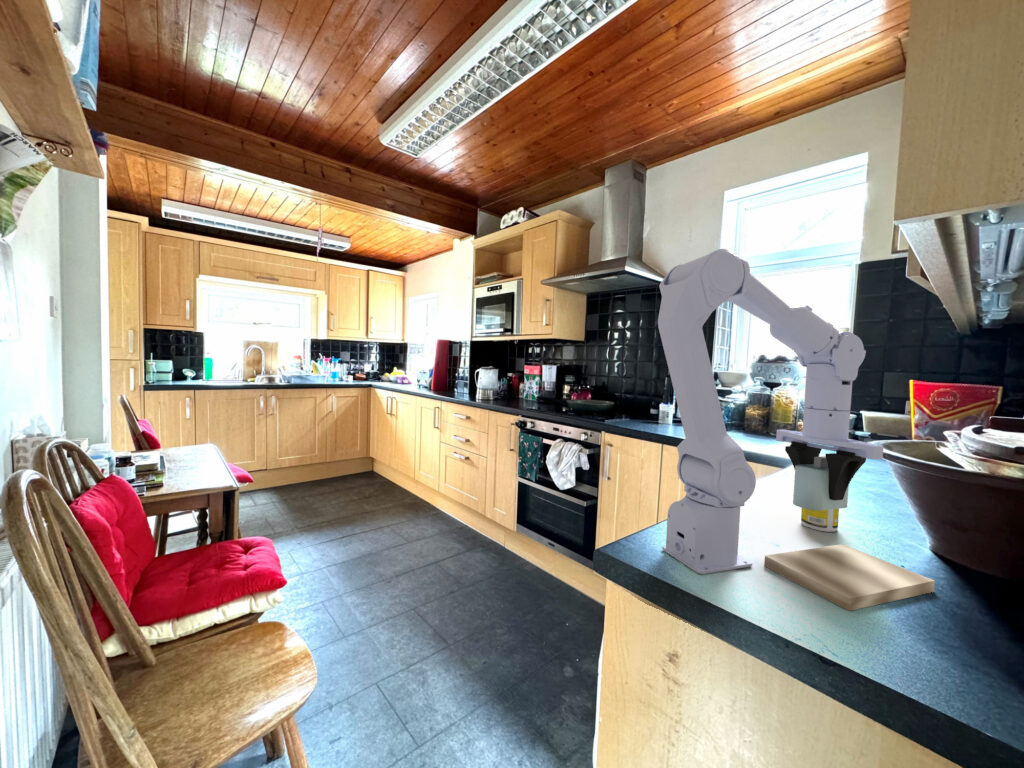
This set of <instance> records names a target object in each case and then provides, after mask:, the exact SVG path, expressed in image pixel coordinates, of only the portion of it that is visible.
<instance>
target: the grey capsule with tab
mask: <svg viewBox="0 0 1024 768" xmlns="http://www.w3.org/2000/svg"><path fill="white" fill-rule="evenodd" d="M793 481H794V483H793V499H792V504H793V506H796V507H798V508H800V509H802V508H805V509H809V510H818V511H821V510H831V509H839V510H840V509H846V508H847V507H848V499H849V498H848V497H849V487H850V484H849V485H848V488H847V490H846V492H845V495H844V498H843V500H831V499H829V469H828V464H827V460H826V455H825V456H823V455H822V456H819V457H814V464H806V465H796V466H795V469H794V480H793Z"/></svg>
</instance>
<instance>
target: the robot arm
mask: <svg viewBox="0 0 1024 768" xmlns="http://www.w3.org/2000/svg"><path fill="white" fill-rule="evenodd" d="M708 253H709V252H708ZM658 287H659V291H660V294H661V301H660V308H659V313H658V318H657V326H658V330H659V334H660V336H659V337H660V340H661V343H662V347H663V351H664V356H665V360H666V364H667V367H668V372H669V375H670V379H671V384H672V387H673V392H674V396H675V397H674V398H675V400H676V404H677V407H678V408H677V409H678V413H679V416H680V420H681V424H682V429H683V432H684V433H683V434H684V436H685V438H684V439H683V440H682V441H681V442H680V443H679V444H678V445H677V447H676V448H677V452H678V461H677V467H676V468H677V469H676V471H677V476H678V479H679V480H680V481H681V482H682V483H683V484H684V488H683V491H684V492H686V493H685V496H684V497H683V498H682V499H679V500H677V501H673V502H672V503H671V504H670V506H669V508H668V510H667V516H666V517H667V519H666V521H667V522H666V536H665V537H666V539H665V545H662V546H661V548H662V550H663V551H664V552H666V553H667V554H669V555H670V556H672V557H673V558H675V559H676V560H678V561H679V562H681V563H682V564H684V565H686V566H687V567H688V568H690V569H691V570H692V571H695V573H697V574H699V575H705V574H711V573H717V572H724V571H730V570H738V569H743V568H749V567H750V568H751V567H752V566H753V562H752V561H750V560H748V559H746V558H744V557H743V556H741V555H739V539H740V537H739V535H740V522H741V521H740V520H741V507H745V503H746V502H747V501H748V500H749V499H751V497H752V495H753V493H754V492H755V490H756V489H755V488H756V482H757V480H756V479H757V478H756V473H755V471H754V469H753V467H752V466H751V465H750V464H749V463H748V461H747V459H746V457H745V453H744V449H743V448H742V447H741V446H740V445H739V444H738V443H737V442H736V441H735V440H734V439H733V438H732V437H731V436H730V435H729V434H728V432H727V428H726V424H725V419H724V415H723V411H722V406H721V403H720V398H719V394H718V390H717V386H716V382H715V378H714V373H713V368H712V365H711V359H710V356H709V351H708V347H707V343H706V339H705V334H704V329H703V326H704V324H705V323H706V322H707V320H708V319H709V318H710V316H711V314H712V313H713V312H714V311H716V309H718V308H719V307H721V305H723V304H724V303H726V302H727V303H732V304H733V305H735V306H737V307H739V308H741V309H743V311H746V312H748V313H750V314H751V315H753V316H755V317H756V318H757V319H759V320H761V321H763V322H764V323H766V324H768V325H769V332H770V335H771V336H772V337H773V338H775V339H776V341H777V340H778V341H779V342H781V343H782V344H783V345H785V346H786V347H788V348H789V349H791V350H792V351H793V352H794V353H795V354H796V355H797V359H798V362H799V363H800V365H801V366H802V367H804V368H806V371H805V372H806V373H805V389H804V402H803V403H804V404H803V414H802V415H803V416H802V431H798V430H788V429H777V430H776V437H775V438H776V439H775V441H777V442H781V443H782V442H783V443H784V442H785V443H790V445H788V446H784V450H785V452H786V454H787V455H788V457H789V460H790V461H791V463H792V466H793V469H794V470H795V466H796V465H806V464H814V457H820V454H821V452H822V450H826V451H830V452H831V451H832V452H831V453H825V456H826V460H827V464H828V469H829V499H831V500H843V498H844V495H845V492H846V490H847V488H848V485H849V486H850V484H851V482H852V480H853V478H854V477H855V475H856V473H857V472H858V471H859V469H860V468H861V467H862V466H863V465H864V464H865V463H866V462H867V459H868V460H873V461H875V460H883V459H884V445H880V444H876V443H875V444H874V443H869V442H865V441H860V440H856V439H852V438H851V439H850V438H849V435H850V434H849V433H850V422H851V421H850V419H851V405H852V394H853V393H852V392H853V391H852V390H853V382H854V381H856V379H857V378H858V376H859V375H858V373H859V368H860V366H861V365H862V364H863V362H864V359H865V358H866V353H867V351H866V349H865V347H864V344H863V341H862V339H861V338H860V337H859V335H855V334H854V333H853V332H850V331H839V330H838V329H837V328H836V327H834V325H833V324H831V323H830V322H827V321H825V320H824V319H822V318H821V317H820V316H819V315H818V314H816V313H815V312H813V309H812V307H810V306H809V305H807V304H805V305H802V304H794V305H788V304H787V303H786V302H785V301H783V299H781V298H780V297H779V296H777V294H776V293H774V292H773V291H772V290H771V289H770V288H768V287H767V286H766V285H765V284H764V283H762V282H761V281H760V280H759V279H758V278H756V277H755V276H754V275H752V273H751V269H750V264H749V262H748V261H747V260H745V259H743V258H740V257H739V256H738V254H737V253H735V252H734V251H732V250H731V249H727V248H719V249H716V250H713V251H711V252H710V253H709V254H706V255H703V256H701V257H698V258H696V259H693V260H690V261H688V262H685V263H683V264H678V265H675V266H673V267H672V268H671V269H670V270H669V271H668V272H667V273H666V275H665V276H664V278H663V280H662V281H661V282H660V283H659V286H658ZM833 452H834V453H833ZM848 489H849V488H848Z"/></svg>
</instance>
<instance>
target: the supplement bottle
mask: <svg viewBox="0 0 1024 768" xmlns="http://www.w3.org/2000/svg"><path fill="white" fill-rule="evenodd" d="M839 512H840V509H831V510H821V511H818V510H809V509H805V508H801V514H800V515H801V517H800V522H801V524H802V525H803V526H804V527H807V528H809V529H812V530H814V531H815V530H816V531H820V532H828V533H829V532H831V533H833V532H836V531H838V528H839V517H840V516H839V514H840V513H839Z"/></svg>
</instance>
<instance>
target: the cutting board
mask: <svg viewBox="0 0 1024 768" xmlns="http://www.w3.org/2000/svg"><path fill="white" fill-rule="evenodd" d="M763 564H764V567H765V568H768V569H770V570H772V571H773V572H775V573H777V574H779V575H781V576H783V577H784V578H786V579H789V580H790V581H792V582H793V583H796V584H797V585H800V586H801V587H804V589H807V590H809V591H811V592H813V593H814V594H817V596H820V597H822V598H824V599H826V600H827V601H829V602H831V603H833V604H835V605H837V606H839V607H841V608H843V609H844V610H846V611H848V612H849V611H850V612H851V611H855V610H860V609H864V608H868V607H874V606H877V605H878V606H879V605H881V604H886V603H890V602H895V601H899V600H904V599H909V598H913V597H917V596H923V595H927V594H931V592H932V593H934V592H935V586H936V585H935V584H936V580H934V579H932V578H929V577H926V576H924V575H921V574H919V573H916V572H914V571H911V570H909V569H906V568H904V567H901V566H898V565H896V564H894V563H891V562H889V561H886V560H884V559H881V558H879V557H876V556H873V555H871V554H869V553H866V552H863V551H862V550H861V551H860V550H859V549H857V548H853V547H851V546H848V545H845V544H843V543H840V544H835V545H828V546H827V545H826V546H820V547H814V548H808V549H801V550H794V551H789V552H788V551H787V552H786V551H785V552H779V553H774V554H768V555H767V554H766V555H764V563H763ZM926 593H927V594H926ZM922 594H923V595H922Z"/></svg>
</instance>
